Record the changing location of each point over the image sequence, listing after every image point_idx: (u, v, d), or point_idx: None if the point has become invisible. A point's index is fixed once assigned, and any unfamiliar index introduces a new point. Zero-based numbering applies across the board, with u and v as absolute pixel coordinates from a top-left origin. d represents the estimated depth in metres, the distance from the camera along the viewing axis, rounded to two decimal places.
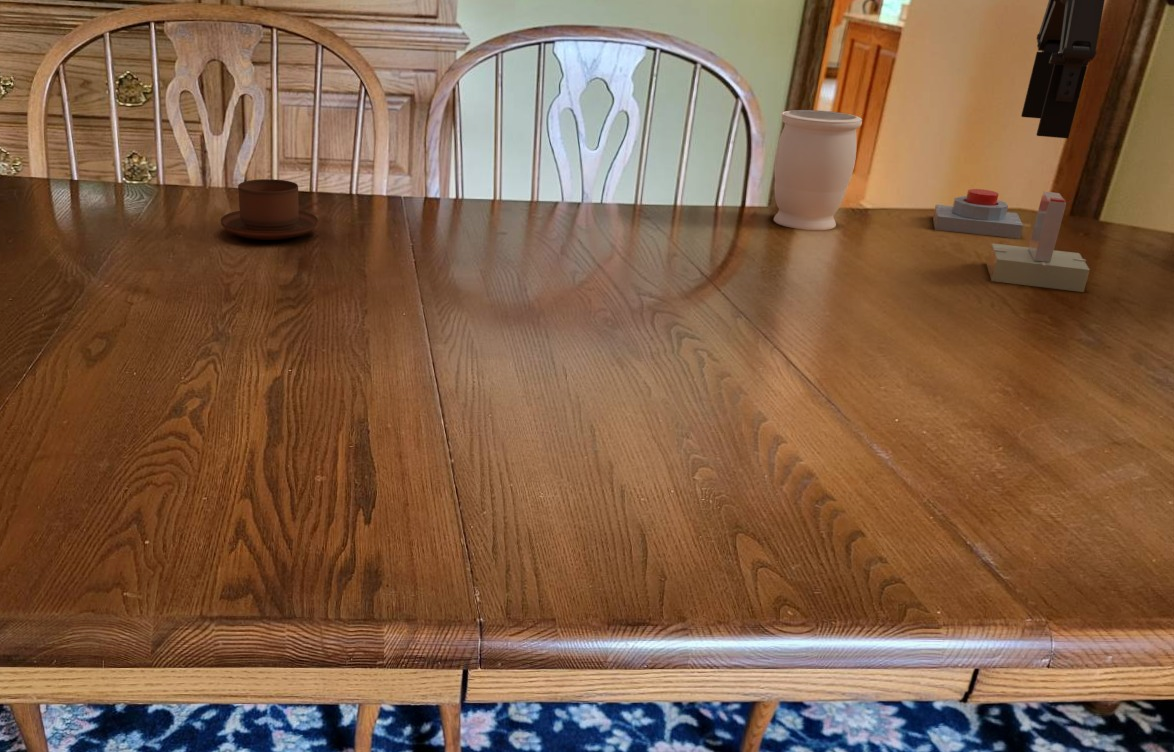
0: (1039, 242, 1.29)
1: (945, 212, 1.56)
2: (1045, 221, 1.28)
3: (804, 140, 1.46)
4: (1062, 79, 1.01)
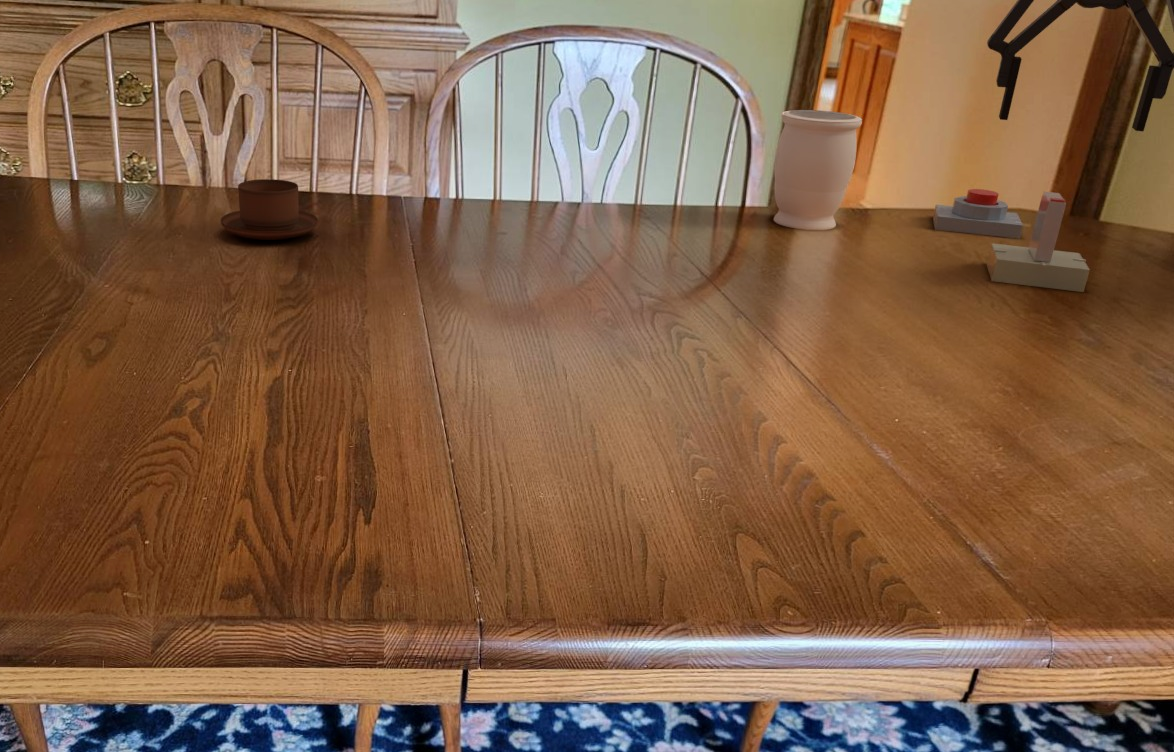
0: (1039, 242, 1.29)
1: (945, 212, 1.56)
2: (1045, 221, 1.28)
3: (804, 140, 1.46)
4: None
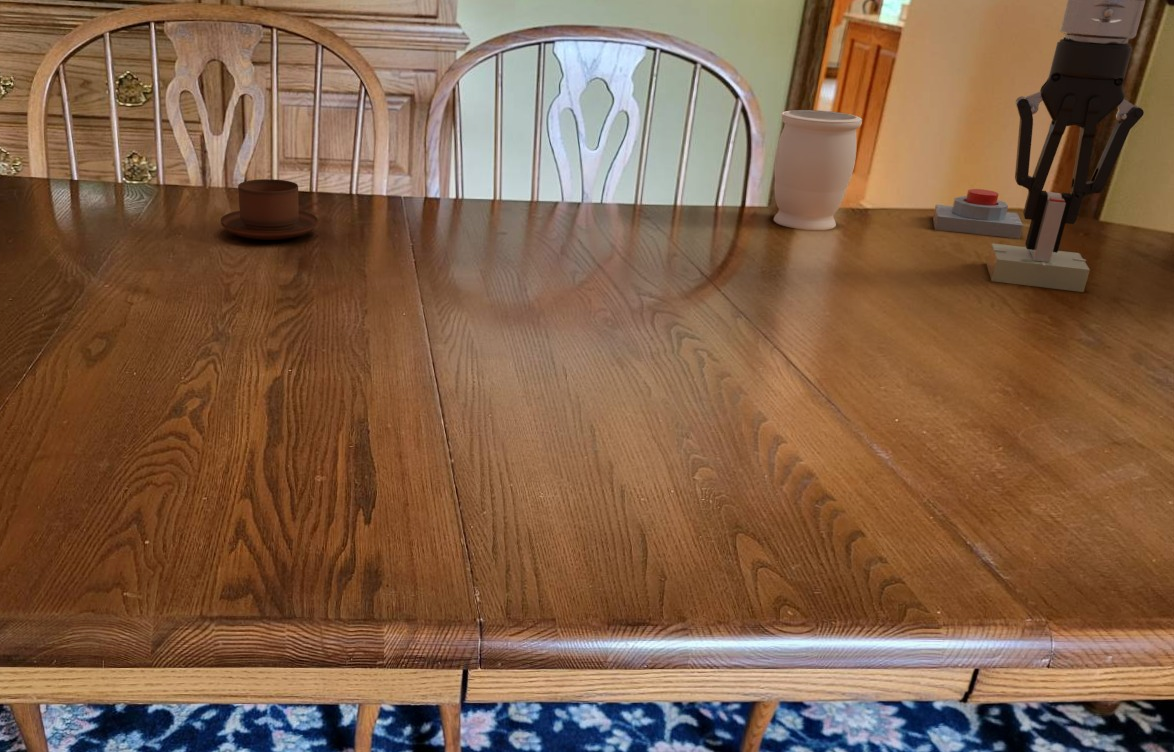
0: (1038, 242, 1.29)
1: (945, 212, 1.56)
2: (1044, 221, 1.28)
3: (804, 140, 1.46)
4: (1079, 207, 1.28)
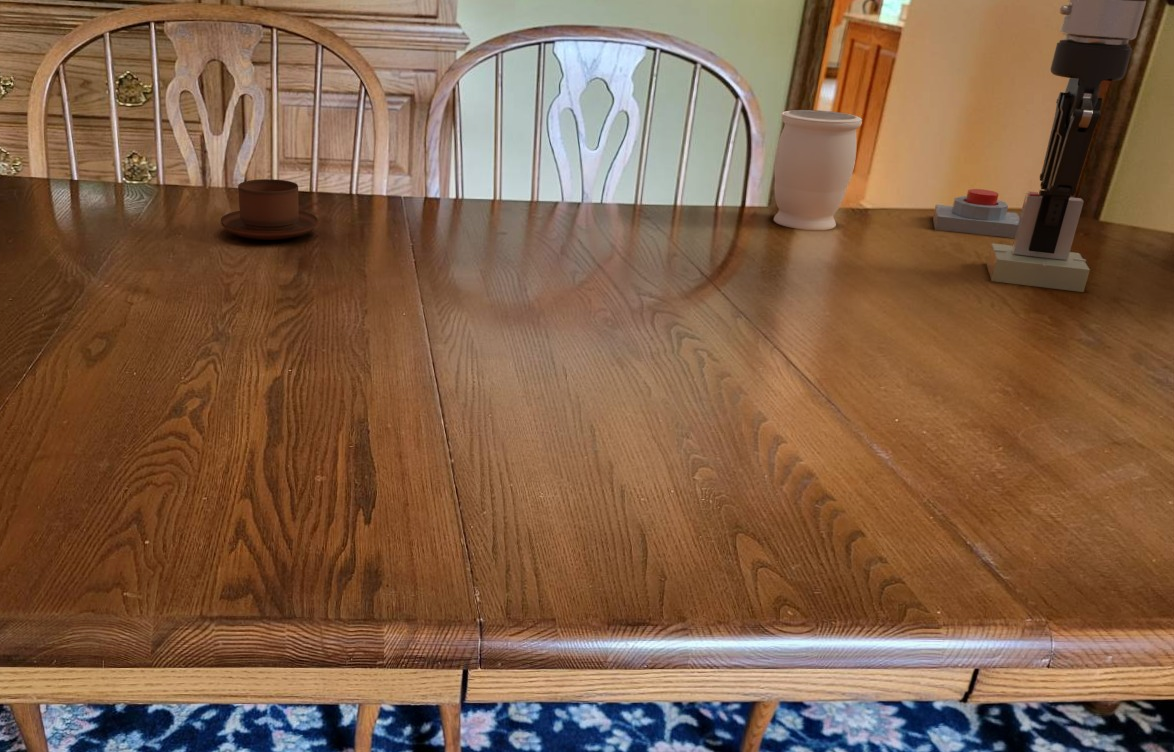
0: (1016, 233, 1.33)
1: (945, 212, 1.56)
2: (1021, 212, 1.32)
3: (804, 140, 1.46)
4: (1049, 209, 1.27)
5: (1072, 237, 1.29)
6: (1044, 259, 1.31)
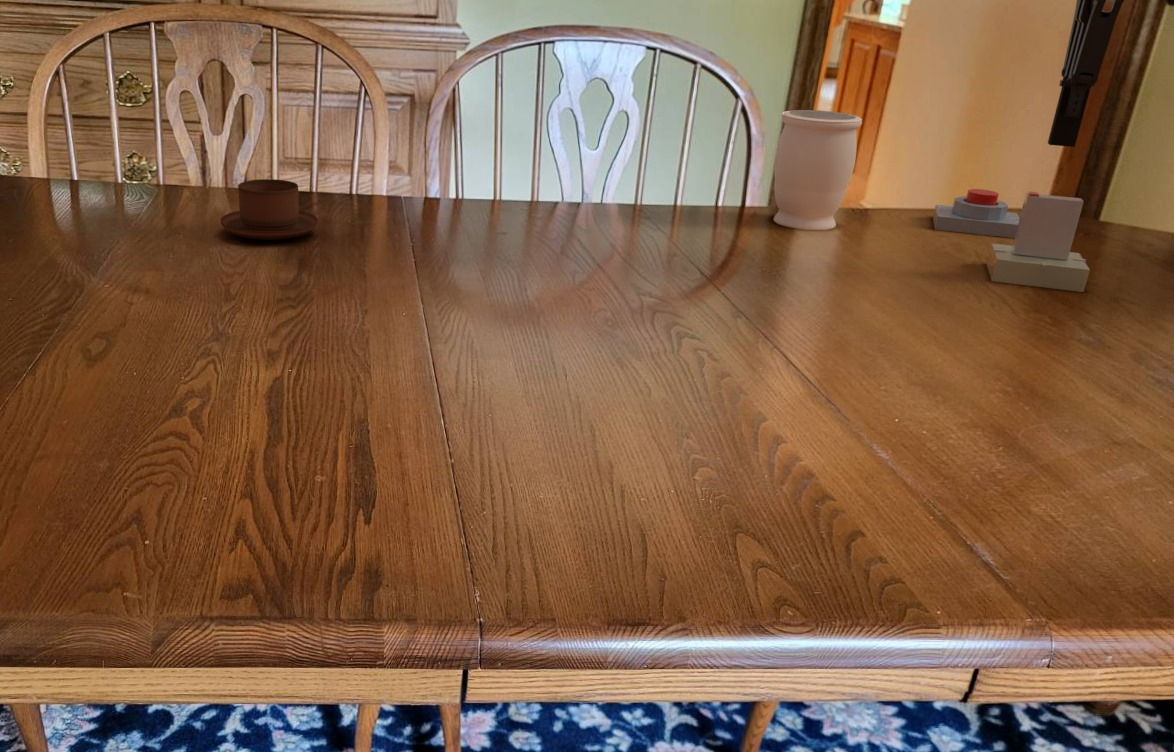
0: (1016, 233, 1.33)
1: (945, 212, 1.56)
2: (1021, 212, 1.32)
3: (804, 140, 1.46)
4: (1070, 99, 1.25)
5: (1072, 237, 1.29)
6: (1044, 259, 1.31)
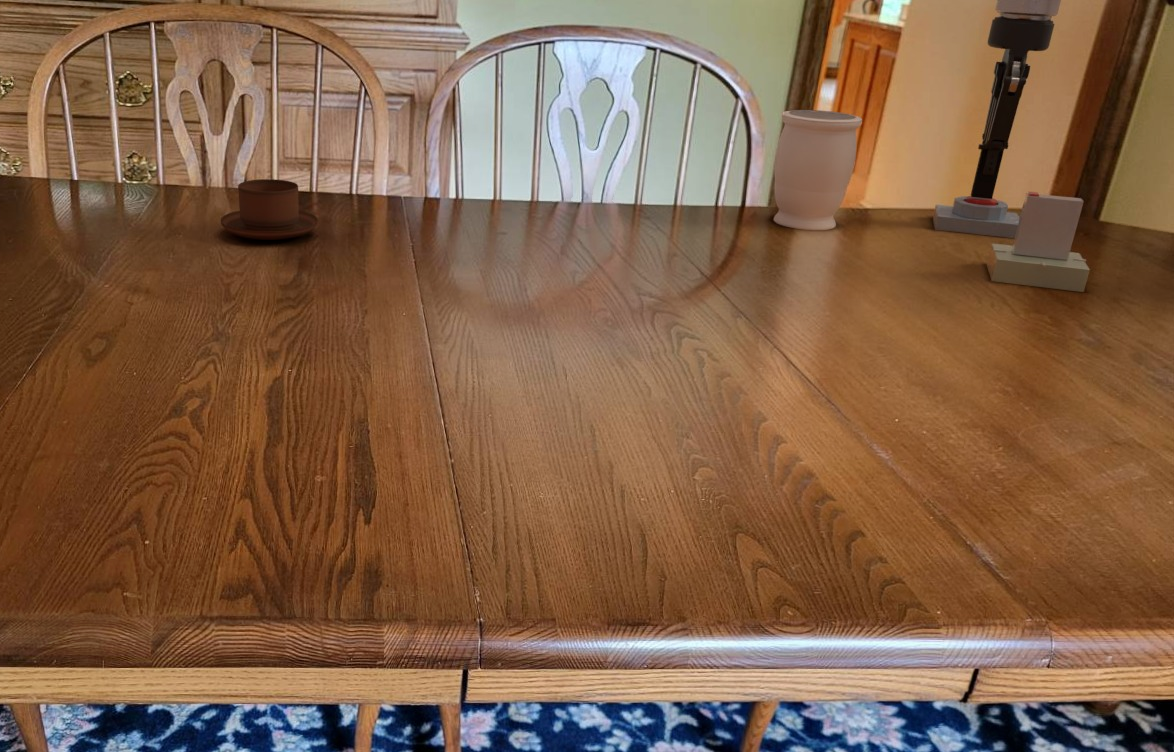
0: (1016, 233, 1.33)
1: (945, 212, 1.56)
2: (1021, 212, 1.32)
3: (804, 140, 1.46)
4: (986, 160, 1.51)
5: (1072, 237, 1.29)
6: (1044, 259, 1.31)
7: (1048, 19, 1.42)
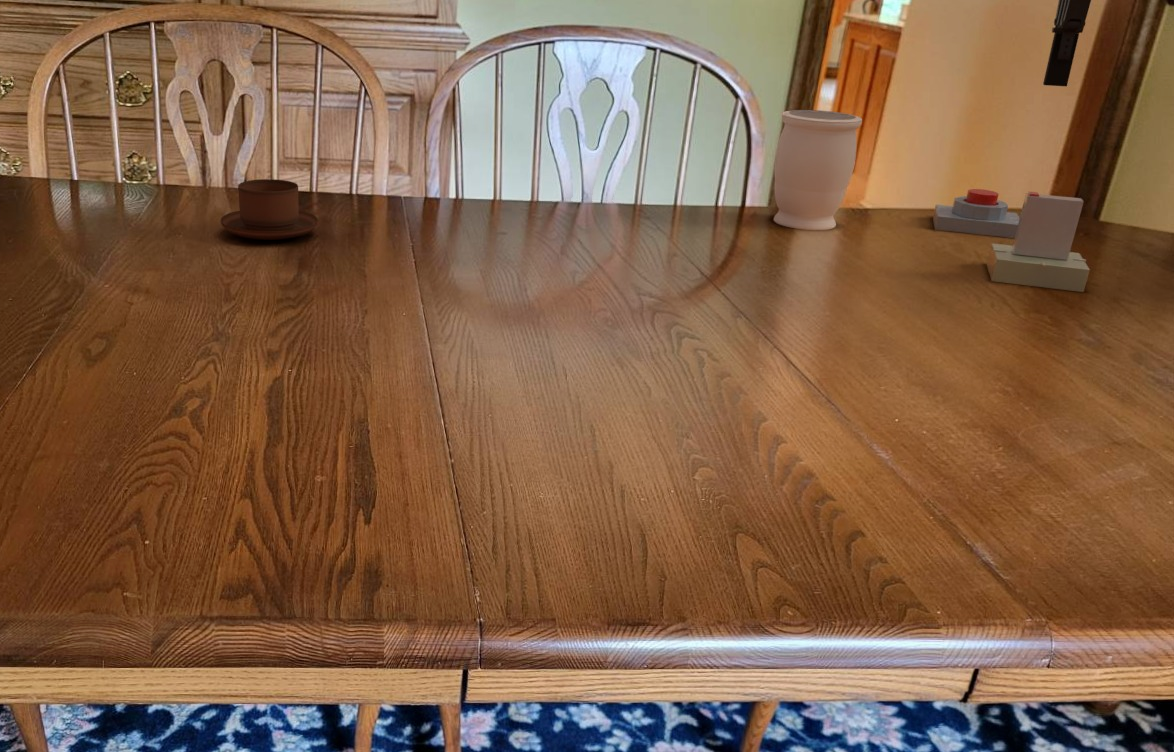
0: (1016, 233, 1.33)
1: (945, 212, 1.56)
2: (1021, 212, 1.32)
3: (804, 140, 1.46)
4: (1061, 43, 1.43)
5: (1072, 237, 1.29)
6: (1044, 259, 1.31)
7: None
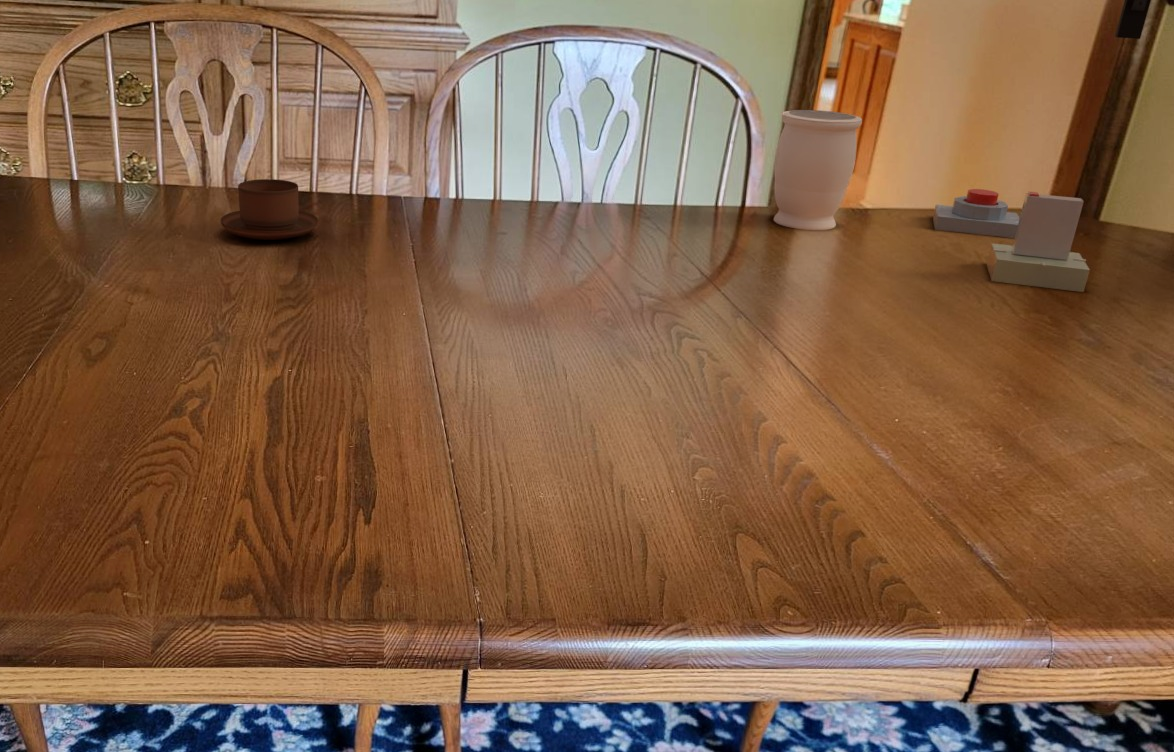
0: (1016, 233, 1.33)
1: (945, 212, 1.56)
2: (1021, 212, 1.32)
3: (804, 140, 1.46)
4: None
5: (1072, 237, 1.29)
6: (1044, 259, 1.31)
7: None
